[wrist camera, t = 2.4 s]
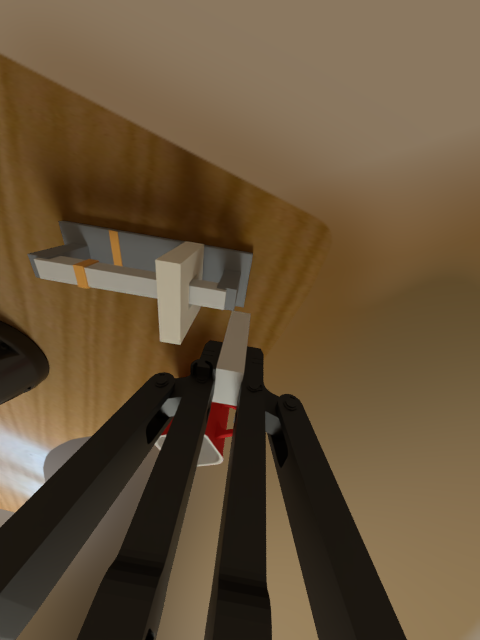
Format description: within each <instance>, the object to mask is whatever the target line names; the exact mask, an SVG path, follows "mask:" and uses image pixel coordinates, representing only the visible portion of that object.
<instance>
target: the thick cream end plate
mask: <svg viewBox="0 0 480 640" xmlns="http://www.w3.org/2000/svg"><path fill="white" fill-rule="evenodd" d="M203 257H204V244H200V243H194V242H188V241H186V242H184V243H183V244H181V245H179V246H177V247H176V248H174V249H172V250H171V251H169V252H167V253H166V254H164V255H162V256H161V257H159V258H157V259H156V260H155V265H156V281H157V298H158V314H159V330H160V341H161V342H166V343H172V344H178V345H181V343H182V341H183V339H184V337H185V336H186V334H187V332H188V330H189V328H190V326H191V324H192V323H193V321H194V319H195V317H196V315H197V313H198V312H199V310H200V308H201V306H198V305H193V304H189V283H190V281H191V280H192V279H199V280H202V275H203Z"/></svg>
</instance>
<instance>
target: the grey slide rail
mask: <svg viewBox="0 0 480 640" xmlns="http://www.w3.org/2000/svg"><path fill="white" fill-rule="evenodd" d="M58 222H59V225H60V229H61V233H62V236H63V240H64V244H65V245H62V246H58V247H54V248H50V249H46V250H42V251H38V252H34V253H30V254H28V257H29V259H30V262H31V265H32V267H33V270H34V273H35V276H36V277H38V278H41V279H46V280H52V281H58V282H64V283H70V284H76V285H78V287H81V288H87V289H88V288H90V287H93V288H99V289H105V290H111V291H117V292H122V293H128V294H134V295H140V296H146V297H152V298H157V281H156V265H155V260H156V259H157V258H159V257H161V256H162V255H164V254H166V253H167V252H169V251H171V250H172V249H174V248H176V247H177V246H179V245H181V244H183V243H184V242H185V241H180V240H174V239H168V238H162V237H156V236H150V235H145V234H139V233H133V232H127V231H121V230H116V229H110V228H104V227H98V226H92V225H86V224H81V223H75V222H69V221H58ZM252 256H253V253H249V252H244V251H238V250H232V249H226V248H220V247H215V246H209V245H204V257H203V275H202V280H199V279H192V280H191V281H190V283H189V304H193V305H198V306H204V307H210V308H216V309H222V310H224V309H225V310H231V311H234V307H235V306H239V307H244V301H245V296H246V290H247V284H248V279H249V273H250V267H251V262H252ZM157 299H158V298H157Z"/></svg>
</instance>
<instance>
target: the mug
mask: <svg viewBox="0 0 480 640" xmlns="http://www.w3.org/2000/svg"><path fill="white" fill-rule="evenodd" d="M229 408H233V409H235V410H236V408H237V406H234V405H228V404H223V403H217V402H212V403H211V410H210V414H209V418H208V422H207V427H206V431H205V435H204V439H203V443H202V447H201V451H200V455H199V459H198V463H197V466H207V465H216V464H220V463H222V462H223V448H224V441H225V437H230V436H232V434H233V429H228V430H226V428H227V421H228V414H229ZM173 418H174V417H173ZM172 420H173V419H172ZM172 420H171V422H170V423H169V425H168V426H167V427H166V429H165V430H164V432H163V433H162V434H161V436H160V437H159V439H158V440H157V442H156V443H155V444H154V445H155V446H156V447H157V448H158V449H159V450H161V447H162V445H163V443H164V440H165V438H166V435H167V433H168V430H169V428H170V425H171V423H172Z"/></svg>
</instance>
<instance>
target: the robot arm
mask: <svg viewBox="0 0 480 640" xmlns="http://www.w3.org/2000/svg"><path fill="white" fill-rule="evenodd" d="M250 315H251V314H249V313H243V312H237V311H232V313H231V316H230V320H229V324H228V327H227V331H226V334H225V338H224V342H217V341H212V340H210V341H209V342H208V343H206V344H205V347H204V349H203V352H202V355H201V357H200V359H198V360H195V361H194V362H193V363H192V364H191V375H190V376H188V377H184V378H174V377H173V375H171V374H170V373H165V372H164V373H158V374H155V375H154V376H152V377H151V378H150V379H149V380H148V381H147V382H146V383H145V384H144V385H143V386H142V387H141V388H140V389H139V390H138V391H137V392H136V393H135V394H134V395H133V396H132V397H131V398H130V399H129V400H128V401H127V402H126V403H125V404H124V405H123V406H122V407H121V408H120V409H119V410H118V411H117V412H116V413H115V414H114V415H113V416H112V417H111V418H110V419H109V420H108V421H107V422H106V423H105V424H104V425H103V426H102V427H101V428H100V429H99V430H98V431H97V432H96V433H95V434H94V435H93V436H92V437H91V438H90V439H89V440H88V441H87V442H86V443H85V444H84V445H83V446H82V447H81V448H80V449H79V450H78V451H77V452H76V453H75V454H74V455H73V456H72V457H71V458H70V459H69V460H68V461H67V462H66V463H65V464H64V465H63V466H62V467H61V468H60V469H59V470H58V471H57V472H56V473H55V474H54V475H53V476H52V477H51V478H50V479H49V480H48V481H47V482H46V483H45V484H44V485H43V486H42V487H41V488H40V489H39V490H38V491H37V492H36V493H35V494H34V495H33V496H32V497H31V498H30V499H29V500H28V501H27V502H26V503H25V504H24V505H23V506H22V507H20V508H19V509H18V510H17V511H16V512H15V513H14V515H12V517H10V519H8V520H7V521H6V522H5V524H3V525H2V527H0V640H16V638H17V637H18V636H19V634H20V633H21V631H22V630H23V629H24V628H25V626H26V625H27V624H28V622H29V621H30V620H31V618H32V617H33V615H34V614H35V613H36V611H37V610H38V609H39V607H40V606H41V605H42V603H43V602H44V600H45V599H46V597H47V596H48V595H49V593H50V592H51V590H52V589H53V588H54V586H55V585H56V583H57V582H58V580H59V579H60V578H61V576H62V575H63V573H64V572H65V570H66V569H67V568H68V566H69V565H70V563H71V562H72V561H73V559H74V558H75V556H76V555H77V554H78V552H79V551H80V549H81V548H82V546H83V545H84V544H85V542H86V541H87V539H88V538H89V536H90V535H91V534H92V532H93V531H94V529H95V528H96V527H97V525H98V523H99V522H100V521H101V519H102V518H103V517H104V515H105V514H106V512H107V511H108V510H109V508H110V507H111V505H112V504H113V502H114V501H115V500H116V498H117V497H118V495H119V494H120V492H121V491H122V490H123V488H124V487H125V485H126V484H127V482H128V481H129V480H130V478H131V477H132V476H133V474H134V473H135V471H136V470H137V468H138V467H139V466H140V464H141V463H142V461H143V460H144V458H145V457H146V456H147V454H148V453H149V451H150V450H151V449H152V447H153V446H154V444H155V443H156V442H157V440H158V439H159V437H160V436H161V434H162V433H163V432H164V430H165V429H166V427H167V426H168V425H169V423H170V422H171V420H172V419H173V420H172V423H171V425H170V428H169V430H168V433H167V435H166V438H165V440H164V443H163V445H162V447H161V450H160V453H159V455H158V458H157V460H156V462H155V465H154V467H153V470H152V472H151V475H150V477H149V480H148V482H147V485H146V487H145V490H144V492H143V494H142V497H141V499H140V502H139V504H138V507H137V509H136V512H135V514H134V517H133V519H132V522H131V524H130V527H129V529H128V532H127V534H126V537H125V539H124V542H123V544H122V546H121V549H120V551H119V554H118V555H117V557H116V559H115V561H114V562H113V563H112V565H111V566H110V567H109V568H108V570H107V572H106V574H105V576H104V578H103V580H102V582H101V584H100V586H99V588H98V591H97V593H96V596H95V598H94V600H93V602H92V605H91V607H90V609H89V612H88V614H87V617H86V619H85V621H84V624H83V626H82V628H81V631H80V633H79V636H78V638H77V640H156V636H157V631H158V628H159V623H160V619H161V615H162V610H163V606H164V602H165V596H166V591H167V586H168V581H169V577H170V573H171V569H172V565H173V561H174V557H175V553H176V549H177V545H178V541H179V536H180V532H181V528H182V524H183V520H184V516H185V512H186V508H187V504H188V500H189V496H190V492H191V488H192V484H193V479H194V475H195V471H196V467H197V463H198V459H199V455H200V451H201V447H202V443H203V439H204V435H205V431H206V427H207V422H208V418H209V414H210V410H211V403H212V402H217V403H223V404H228V405H234V406H237V408H236V413H235V417H234V427H233V434H232V442H231V449H230V457H229V464H228V472H227V479H226V487H225V495H224V501H223V509H222V516H221V524H220V532H219V539H218V546H217V554H216V561H215V569H214V576H213V584H212V591H211V597H210V603H209V609H208V615H207V623H206V629H205V637H204V640H272V625H271V606H270V599H269V594H268V590H267V582H266V441H265V440H266V439H265V438H266V436H265V435H266V433H265V432H267V434H268V439H269V443H270V447H271V451H272V455H273V459H274V462H275V467H276V470H277V475H278V479H279V482H280V487H281V490H282V495H283V499H284V502H285V507H286V511H287V515H288V518H289V523H290V527H291V531H292V534H293V538H294V543H295V546H296V550H297V555H298V558H299V562H300V566H301V570H302V574H303V578H304V582H305V586H306V590H307V594H308V598H309V602H310V606H311V610H312V614H313V618H314V622H315V626H316V630H317V634H318V638H319V640H407V639H406V637H405V635H404V632H403V630H402V628H401V625H400V623H399V621H398V619H397V616H396V614H395V612H394V610H393V607H392V605H391V603H390V601H389V599H388V596H387V594H386V592H385V589H384V587H383V585H382V583H381V581H380V578H379V576H378V574H377V571H376V569H375V567H374V565H373V562H372V560H371V558H370V556H369V553H368V551H367V549H366V547H365V544H364V542H363V540H362V538H361V536H360V533H359V531H358V529H357V527H356V524H355V522H354V520H353V517H352V515H351V513H350V511H349V509H348V506H347V504H346V502H345V500H344V497H343V495H342V493H341V490H340V488H339V486H338V484H337V482H336V479H335V477H334V475H333V472H332V470H331V468H330V466H329V463H328V461H327V459H326V457H325V455H324V452H323V450H322V448H321V445H320V443H319V441H318V439H317V436H316V434H315V432H314V430H313V428H312V425H311V423H310V421H309V418H308V416H307V414H306V412H305V410H304V407H303V405H302V403H301V402H300V400H299V399H298V398H296V397H295V396H293V395H290V394H284V395H281V396H280V397H279V396H276V395H275V394H272V393H271V392H269V391H268V390H267V389H266V388H265V386H264V382H263V353H262V351H261V349H259V348H254V347H248V346H247V342H248V333H249V324H250ZM48 373H49V365H48V362H47V360H46V358H45V356H44V354H43V353H42V352H41V350H40V349H39V348H38V347H37V346H36V345H35V344H34V343H33V342H32V341H31V340H30V339H29V338H27V337H26V336H25V335H24V334H22V333H21V332H19V331H18V330H16V329H14V328H12V327H11V326H9V325H7V324H4V323H2V322H0V405H1V404H3V403H5V402H7V401H9V400H11V399H13V398H15V397H17V396H19V395H21V394H22V393H25V392H28V391H30V390H32V389H33V388H35V387H36V386H37V385H39V384H40V383H41V382H42V381H43V380H45V379H46V378H47V376H48ZM173 417H174V418H173Z"/></svg>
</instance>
